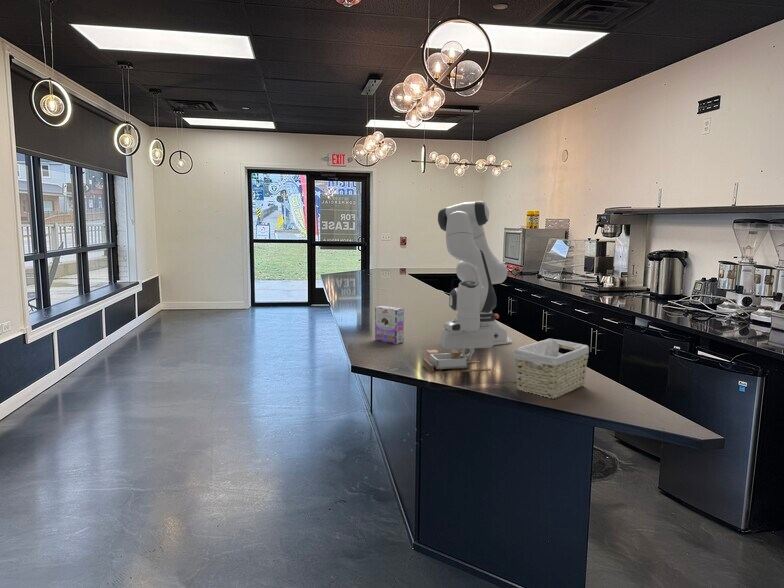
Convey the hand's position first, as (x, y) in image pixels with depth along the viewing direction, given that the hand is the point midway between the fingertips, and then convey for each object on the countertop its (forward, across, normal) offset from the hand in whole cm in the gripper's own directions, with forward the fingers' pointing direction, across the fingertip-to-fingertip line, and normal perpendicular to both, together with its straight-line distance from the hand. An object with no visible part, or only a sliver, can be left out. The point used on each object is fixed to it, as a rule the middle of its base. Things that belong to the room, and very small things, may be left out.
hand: (466, 359), depth 198 cm
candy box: (+4, +19, -52) cm, 56 cm away
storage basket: (+5, -21, +26) cm, 33 cm away
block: (+4, +10, -12) cm, 16 cm away
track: (+4, +4, 0) cm, 6 cm away
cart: (+3, +8, 0) cm, 8 cm away
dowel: (+1, +4, 0) cm, 5 cm away
